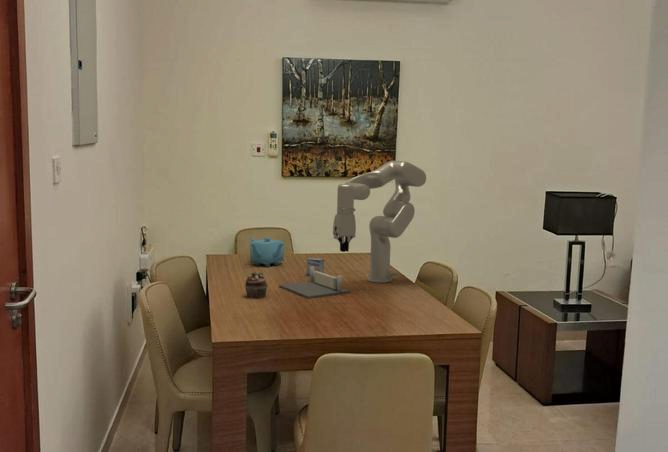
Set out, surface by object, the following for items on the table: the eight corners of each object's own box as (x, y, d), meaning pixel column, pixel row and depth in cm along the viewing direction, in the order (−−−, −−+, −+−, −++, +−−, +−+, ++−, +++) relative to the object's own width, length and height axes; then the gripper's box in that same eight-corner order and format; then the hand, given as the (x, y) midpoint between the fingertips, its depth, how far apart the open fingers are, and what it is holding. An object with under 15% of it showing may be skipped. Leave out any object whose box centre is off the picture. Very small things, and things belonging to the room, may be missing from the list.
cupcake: (241, 297, 273) (241, 274, 272) (251, 292, 283) (251, 270, 281) (261, 299, 270) (261, 276, 269) (271, 294, 279) (271, 272, 278)
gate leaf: (315, 281, 302) (315, 270, 301) (339, 289, 286) (339, 278, 285) (312, 281, 300) (312, 271, 300) (335, 289, 285) (335, 278, 284)
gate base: (319, 282, 306) (319, 265, 305) (349, 292, 286) (350, 275, 285) (279, 287, 294) (279, 269, 293) (308, 298, 274) (308, 280, 273)
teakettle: (282, 261, 357) (282, 235, 356) (285, 267, 339) (285, 240, 337) (248, 261, 354) (248, 235, 352) (249, 268, 336) (249, 240, 334)
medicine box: (306, 275, 320) (306, 258, 319) (309, 274, 324) (310, 257, 323) (320, 277, 317) (320, 260, 316) (324, 275, 321) (324, 258, 320)
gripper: (354, 209, 299) (353, 248, 301) (326, 211, 290) (325, 251, 293) (363, 211, 293) (362, 251, 295) (336, 213, 284) (335, 253, 287)
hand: (344, 251), depth 294 cm, fingers closed
